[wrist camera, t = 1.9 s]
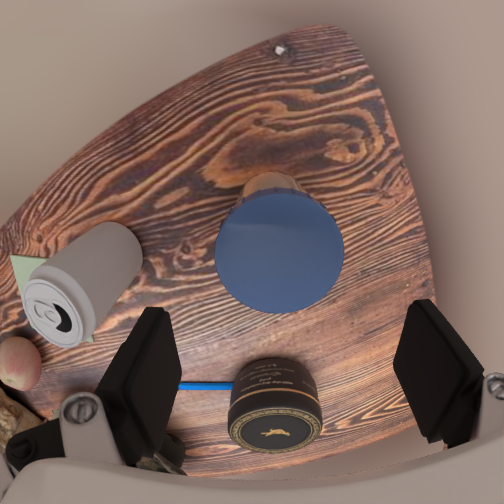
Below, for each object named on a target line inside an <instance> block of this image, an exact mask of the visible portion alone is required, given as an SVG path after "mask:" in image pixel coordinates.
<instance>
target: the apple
mask: <svg viewBox="0 0 504 504" xmlns="http://www.w3.org/2000/svg"><path fill="white" fill-rule="evenodd" d="M41 370H42V363H41V357H40V354H39V351H38V349H37V348H36V346H35V345H34V344H33V343H32V342H31V341H29V340H28V339H26V338H23V337H8V338H6V339H5V340H4V341H3V342H2V343H1V344H0V379H1V381H2V382H3V383H5V384H6V385H8V386H10V387H12V388H15V389H18V390H21V391H27V390H30V389H32V388H33V387H34V386H35V385H36V384H37V382H38V381H39V378H40V375H41Z"/></svg>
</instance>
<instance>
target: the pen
mask: <svg viewBox="0 0 504 504" xmlns="http://www.w3.org/2000/svg"><path fill="white" fill-rule="evenodd" d="M233 384H234V383H179V387H178V389H182V390H232V387H233ZM177 391H179V390H177Z"/></svg>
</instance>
